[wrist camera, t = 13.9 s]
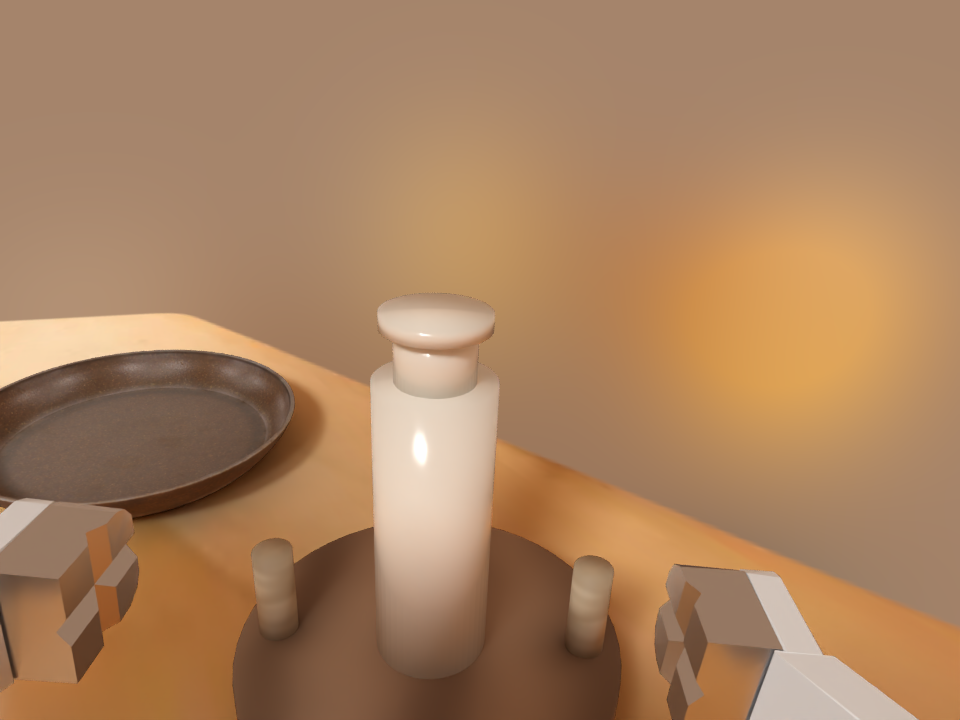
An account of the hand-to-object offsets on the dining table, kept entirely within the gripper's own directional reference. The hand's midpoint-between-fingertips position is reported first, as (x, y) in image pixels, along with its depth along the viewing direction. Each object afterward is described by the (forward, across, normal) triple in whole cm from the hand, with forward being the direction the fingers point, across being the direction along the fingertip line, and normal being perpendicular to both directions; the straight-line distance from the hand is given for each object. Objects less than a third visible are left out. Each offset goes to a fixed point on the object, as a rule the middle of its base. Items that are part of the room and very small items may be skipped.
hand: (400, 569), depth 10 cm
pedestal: (+14, 0, +18) cm, 23 cm away
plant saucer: (+32, +21, +20) cm, 43 cm away
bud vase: (+14, 0, +15) cm, 21 cm away
